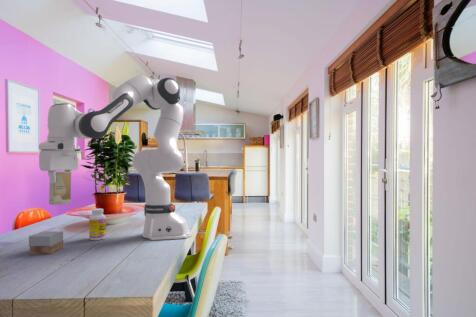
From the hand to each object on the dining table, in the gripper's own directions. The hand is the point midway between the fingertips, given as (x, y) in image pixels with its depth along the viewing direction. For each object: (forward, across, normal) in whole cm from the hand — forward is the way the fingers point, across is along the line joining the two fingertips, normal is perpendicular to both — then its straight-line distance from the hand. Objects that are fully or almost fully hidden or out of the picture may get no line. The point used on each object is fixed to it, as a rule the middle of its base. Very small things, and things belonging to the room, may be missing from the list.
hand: (60, 182), depth 121 cm
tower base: (+26, 0, -5) cm, 27 cm away
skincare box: (+8, 0, 0) cm, 8 cm away
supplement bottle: (+26, -19, +6) cm, 32 cm away
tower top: (+23, 0, -5) cm, 24 cm away
